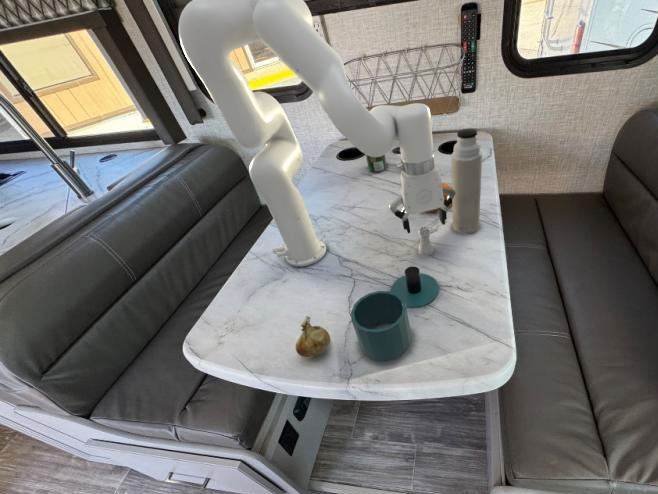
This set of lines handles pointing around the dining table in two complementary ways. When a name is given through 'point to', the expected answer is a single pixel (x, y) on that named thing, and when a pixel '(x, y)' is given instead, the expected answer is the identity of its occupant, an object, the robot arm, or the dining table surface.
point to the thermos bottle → (466, 181)
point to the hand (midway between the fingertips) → (425, 226)
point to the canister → (381, 311)
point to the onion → (312, 340)
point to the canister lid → (416, 288)
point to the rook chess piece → (425, 242)
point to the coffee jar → (376, 163)
